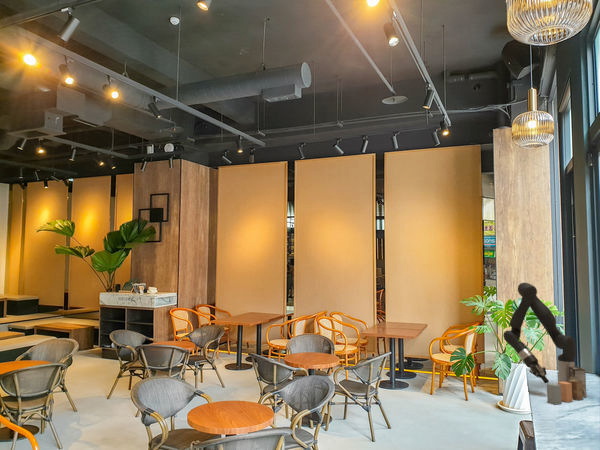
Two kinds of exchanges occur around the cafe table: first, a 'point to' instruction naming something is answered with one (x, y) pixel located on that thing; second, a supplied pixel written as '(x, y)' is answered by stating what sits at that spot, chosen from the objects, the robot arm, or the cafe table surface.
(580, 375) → the coffee box
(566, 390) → the terracotta block
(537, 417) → the cafe table surface
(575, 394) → the walnut block
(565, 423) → the cafe table surface
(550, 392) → the slate block
